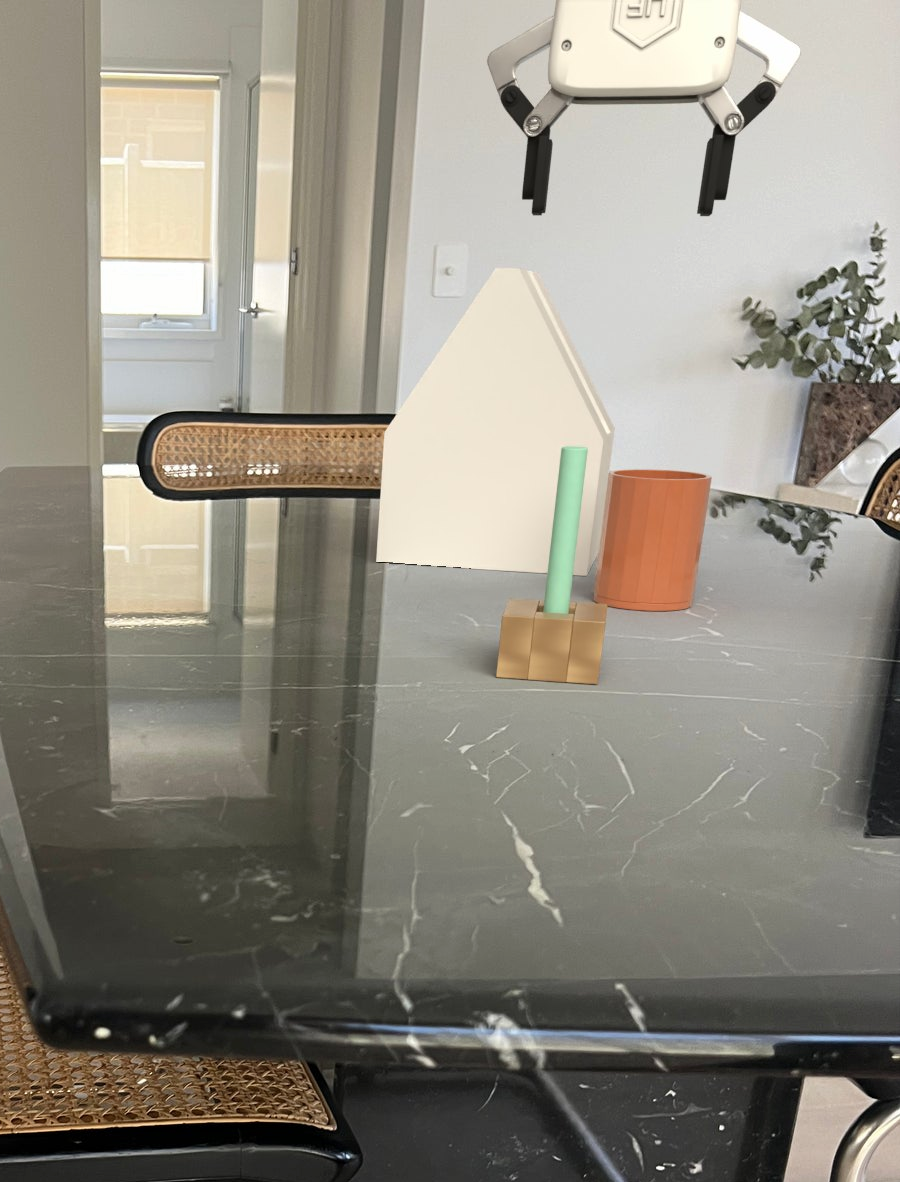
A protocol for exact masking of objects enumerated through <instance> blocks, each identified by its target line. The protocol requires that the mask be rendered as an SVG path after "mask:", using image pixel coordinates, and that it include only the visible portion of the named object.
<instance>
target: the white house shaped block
mask: <svg viewBox="0 0 900 1182" xmlns="http://www.w3.org/2000/svg"><path fill="white" fill-rule="evenodd" d="M615 428H616V427H615V426H614V424H613V422H612V420H611V418H610V415H609V413H608V411H607V409H606V408H605V405H604V404H603V401H602V400H601V397H600V395H599V393H598V391H597V389H596V387H595V385H594V383H593V381H592V379H591V377H590V375H589V373H588V371H587V369H586V366H585V364H584V362H583V361H582V358H581V356H580V354H579V352H578V350H577V347H576V346H575V344H574V342H573V340H572V338H571V336H570V334H569V331H568V330H567V328H566V326H565V323H564V322H563V319H562V318H561V316H560V314H559V311H558V309H557V307H556V305H555V304H554V301H553V299H552V297H551V295H550V293H549V291H548V288H547V287H546V285H545V283H544V280H543V279H542V276H541V275H540V273H539V272H538V271H534V270H528V269H525V268H520V267H495V268H494V270H493V272H492V273H491V274H490V275H489V277H488V279H487V280H486V281H485V283H484V284H483V286H482V287H481V289H480V290H479V291H478V293H477V295H476V296H475V298H474V299H473V301H472V302H471V304H470V305H469V307H468V308H467V310H466V311H465V313H464V314H463V315H462V317H461V318H460V320H459V322H458V323H457V324H456V326H455V327H454V329H453V330H452V332H451V334H450V335H449V336H448V338H447V339H446V341H445V342H444V344H443V345H442V347H441V348H440V349H439V351H438V352H437V354H436V355H435V357H434V358H433V360H432V361H431V363H430V365H428V367H427V369H426V370H425V371H424V373H423V375H422V376H421V377H420V379H419V380H418V382H417V383H416V385H415V386H414V388H413V390H412V391H411V392H410V393H409V395H408V397H407V398H406V400H405V401H404V403H403V404H402V405H401V407H400V408H399V410H398V411H397V413H396V414H395V416H394V418H393V419H392V420H391V422H390V423H389V425H388V426H387V428H386V429H385V431H384V432H383V433H384V434H383V435H384V436H383V438H384V439H383V449H382V450H383V451H382V463H381V465H382V466H381V478H380V479H381V480H380V495H379V496H380V497H379V513H378V525H377V526H378V528H377V543H376V544H377V545H376V559H375V563H376V562H393V563H405V564H417V565H416V566H421V565H431V566H430V567H437V566H446V567H445V568H453V567H461V568H460V569H469V568H471V569H470V570H485V571H486V570H487V571H504V572H518V573H519V572H520V573H535V574H547V573H548V564H549V555H550V546H551V537H552V528H553V519H554V510H555V502H556V493H557V484H558V475H559V466H560V457H561V448H562V447H565V446H578V447H586V448H588V452H587V460H586V469H585V477H584V486H583V494H582V502H581V511H580V519H579V528H578V536H577V544H576V553H575V561H574V570H573V576H580V577H582V576H583V577H587V576H588V574H589V572H590V571H591V568H592V566H593V564H594V562H595V560H597V558H598V555H599V547H600V539H601V532H602V524H603V516H604V508H605V500H606V492H607V484H608V476H609V472H610V468H611V460H612V452H613V443H614V436H615ZM405 564H404V565H405Z"/></svg>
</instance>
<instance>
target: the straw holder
mask: <svg viewBox="0 0 900 1182" xmlns="http://www.w3.org/2000/svg"><path fill="white" fill-rule="evenodd" d="M544 600H545V599H530V598H514V597H513V598H512V597H510V598H509V600H508V602H507V604H506V607H505V609H504V611H503V613H502V614H501V615H502V616H501V624H500V635H499V643H498V653H497V654H498V655H497V664H496V674H495V677H496V678H500V679H512V680H513V679H514V680H515V679H516V680H527V681H541V682H555V683H568V684H569V683H571V684H585V685H598V684H599V679H600V672H601V671H600V670H601V663H602V655H603V654H602V653H603V648H604V639H605V630H606V623H607V614H608V606H607V604H599V603H597V602H581V601H580V602H579V601H577V602H576V601H570V603H569V612H568V614H564V613H548V612H543V609H544Z"/></svg>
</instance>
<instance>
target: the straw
mask: <svg viewBox="0 0 900 1182" xmlns="http://www.w3.org/2000/svg"><path fill="white" fill-rule="evenodd" d="M587 452H588V448H586V447H578V446H565V447H562V448H561V457H560V466H559V475H558V484H557V493H556V502H555V510H554V519H553V528H552V537H551V546H550V555H549V564H548V573H546V582H545V583H546V584H545V591H544V599H543V600H544V609H543V612H548V613H564V614H568V612H569V603H570V602H571V594H572V586H573V577H574V575H573V570H574V561H575V553H576V544H577V536H578V528H579V519H580V511H581V502H582V494H583V486H584V477H585V469H586V460H587Z"/></svg>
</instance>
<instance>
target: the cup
mask: <svg viewBox="0 0 900 1182" xmlns="http://www.w3.org/2000/svg"><path fill="white" fill-rule="evenodd" d="M712 478H713V477H712V475H711V474H706V473H701V472H695V471H685V470H672V469H651V468H650V469H649V468H648V469H647V468H645V469H643V468H642V469H639V468H637V469H636V468H635V469H634V468H633V469H616V470H611V471H609V476H608V484H607V492H606V500H605V508H604V516H603V524H602V532H601V539H600V547H599V553H598V555H597V564H596V572H595V581H594V589H593V597H592V599H593V602H594V603H598V604H607V607H611V608H615V609H623V610H630V611H644V612H673V611H680V610H681V611H682V610H686V609H689V608H691V607H692V606H693V602H694V601H693V599H694V595H695V590H696V584H697V577H698V570H699V564H700V557H701V551H702V545H703V537H704V531H705V525H706V517H707V513H708V504H709V497H710V491H711V485H712Z"/></svg>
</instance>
